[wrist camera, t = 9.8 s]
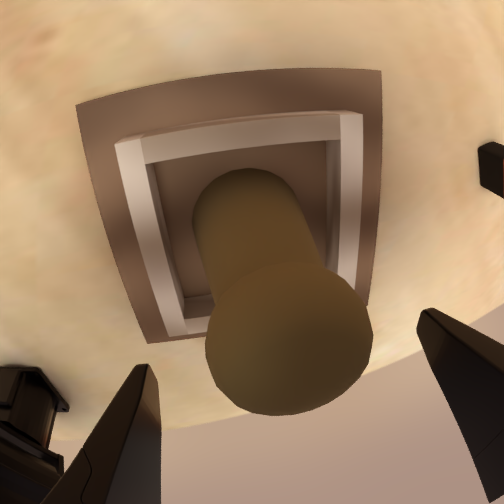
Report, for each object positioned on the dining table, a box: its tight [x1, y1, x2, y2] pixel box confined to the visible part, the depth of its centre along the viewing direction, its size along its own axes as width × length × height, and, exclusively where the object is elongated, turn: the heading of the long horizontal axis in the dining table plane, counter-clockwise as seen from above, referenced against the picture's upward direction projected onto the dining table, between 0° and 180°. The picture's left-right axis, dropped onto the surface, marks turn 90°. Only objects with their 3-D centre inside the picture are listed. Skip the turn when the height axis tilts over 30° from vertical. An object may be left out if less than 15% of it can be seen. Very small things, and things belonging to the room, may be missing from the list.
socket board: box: [75, 68, 382, 344], centre depth 17 cm, size 16×16×3 cm
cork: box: [192, 168, 373, 416], centre depth 13 cm, size 6×6×11 cm
